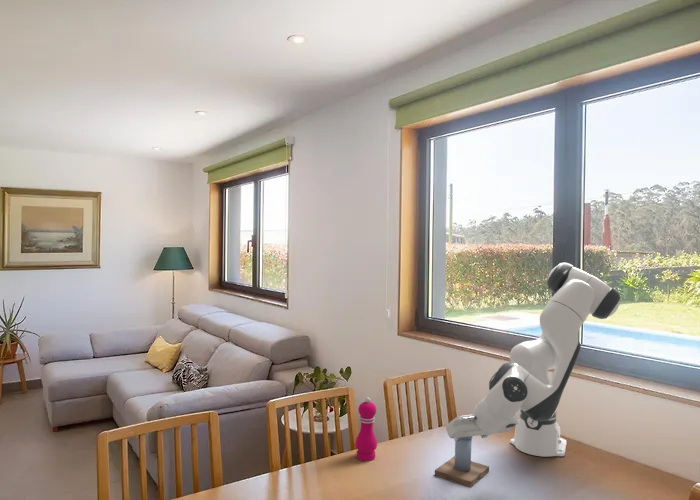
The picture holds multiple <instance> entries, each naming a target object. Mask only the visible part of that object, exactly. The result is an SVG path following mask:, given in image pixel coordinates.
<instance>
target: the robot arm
mask: <svg viewBox="0 0 700 500" xmlns="http://www.w3.org/2000/svg"><path fill="white" fill-rule="evenodd" d="M546 285H547V288H548V289H549V290H550V291H551V292H552V293H553V295H552V297H551V298H550V299H549V301H547V303H546V305H545V306H544V308H543V309H542V311H541V313H540V316H539V325H540V328H541V331H542V333H541V335H540V336H539V337H538V338H537V339H534V340H525V341H522V342H520V343H518V344H516V345H514V346H513V347H512V348H511V350H510V352H509V360H510V362H505V363H502V365H501V366H499V368H498V370H497V371H496V372H495V373H494V374H493V375H492V376H491V378H490V380H489V382H488V389H489V391H488V392H487V394H486V396H485V397H483V398H482V399H481V400H480V401H479V402H478V403H477V404H476V406H475V407H474V408H473V411H472V414H465V415H458V416H456V417H454V419H452V420H451V421H449V423H448V424H447V425H446V426H445V429H446V432H447V435H448V437H449V438H450V439H453V440H454V442H455V441H460V440H461V437H468V436H472V437H477V436H481V438H482V439H487V438H488V437H490V436H492V435H494V434H505V433H507V432H509V431H511V430H512V429H513V428H514V427H515V428H514V437H513V438H511V439H509V440H510V441H509V443H511V444H512V445H513V446H515V448H516V449H517V450H518V451H520V452H522V453H525V454H527V455H532V456H536V457H544V458H545V457H565V456H566V455H565V454H566V450H567V440H566V439H565V438H563V437H561V427H560V426H559V424H558V422H557V412H558V411H557V409H558V408H559V403H560V401H561V398H562V396H563V392H564V391H565V390H564V389H565V387H566V385H567V383H568V381H569V378H570V376H571V374H572V372H573V369H574V367H575V365H576V362H577V360H578V357H579V355H580V351H581V345H582V344H581V342H580V341H579V332H580V329H581V328H582V326H583V324H584V322H585V321H586V320H587V318H588V317H589V315H591V316H592V317H594V318H596V319H599V320H606V319H607V318H609V317H612V315H614V314H615V313H616V312H617V311H618V309H619V306H620V303H621V302H620V301H621V294H620V292H618V290H616V289H615V288H614V287H610V286H609V285H608V284H606V283H605V282H604V281H603V280H601V279H600V278H598V277H596V276H594V275H592V274H589V273H588V272H586V271H584V270H582V269H580V268H577V267H575V266H574V265H573V264H571V263H568V262H560V263H559V264H558V265H556V266H554V267H553V268H552V269H551V271H550V272H549V274H548V276H547V281H546ZM551 370H553V372H552V373H551V376H550V379H549V376H548V375H549V374H548V371H551ZM518 412H519V417H520V418H519V419H518V418H517V413H518Z"/></svg>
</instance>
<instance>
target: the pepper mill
mask: <svg viewBox="0 0 700 500" xmlns="http://www.w3.org/2000/svg"><path fill="white" fill-rule="evenodd" d="M364 399H365V400H364V401H363V402H361V403H360V404H359V406H358V409H357V410H358V414H359V415H360V416H359V422H360V430H359V432H358V435H357V437H356V440H355V447H356V449H357V450H356V458H357V459H358V460H360V461H364V462H369V461H373V460H374V459H376V451H375V450H376V449H377V446H378V441H377V437H376V435H375V432H374V423H375V415H376V414H377V406H376V405H375V404H374V402H372V401H371V398H370V397H368V396H367V397H366V398H364Z"/></svg>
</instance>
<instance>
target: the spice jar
mask: <svg viewBox="0 0 700 500" xmlns="http://www.w3.org/2000/svg"><path fill="white" fill-rule="evenodd" d="M472 439H473V436H468V437H461V440H460V441H455V440H454V442H455V443H454V456H455V464H454V468H455V469H456V470H458V471H462V472H467V471H470V470H471V461H472V444H473V443H472V442H473V440H472Z"/></svg>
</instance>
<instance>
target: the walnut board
mask: <svg viewBox="0 0 700 500" xmlns="http://www.w3.org/2000/svg"><path fill="white" fill-rule="evenodd" d="M454 464H455V455H454V456H453V457H451V458H450V459H448V460H447V461H445V462H444V463H442V464H441V465H439V466H438V467H437V468H435V470H434V476H436V477H439V478H442V479H445V480H448V481H451V482H455V483H456V484H460V485H463V486H466V487H470V488H472V487H473V486H474V485H475V484H476V483H477V482H478V481H480V480H481V479H482V478H483V477H484V476H486V474H488V473H490V466H489V465H486V464H483V463H479V462H476V461H473V460H471V470H470V471H467V472H462V471H458V470H456V469H455V468H454Z"/></svg>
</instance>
